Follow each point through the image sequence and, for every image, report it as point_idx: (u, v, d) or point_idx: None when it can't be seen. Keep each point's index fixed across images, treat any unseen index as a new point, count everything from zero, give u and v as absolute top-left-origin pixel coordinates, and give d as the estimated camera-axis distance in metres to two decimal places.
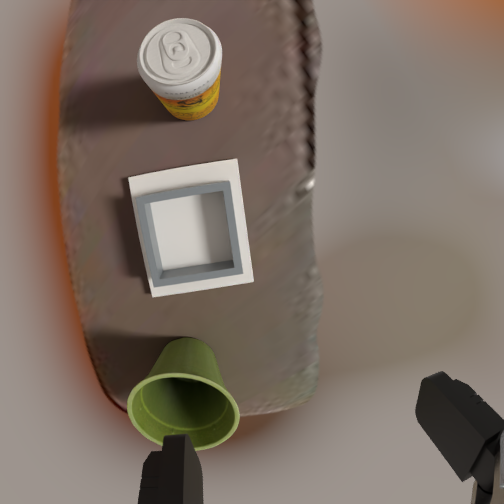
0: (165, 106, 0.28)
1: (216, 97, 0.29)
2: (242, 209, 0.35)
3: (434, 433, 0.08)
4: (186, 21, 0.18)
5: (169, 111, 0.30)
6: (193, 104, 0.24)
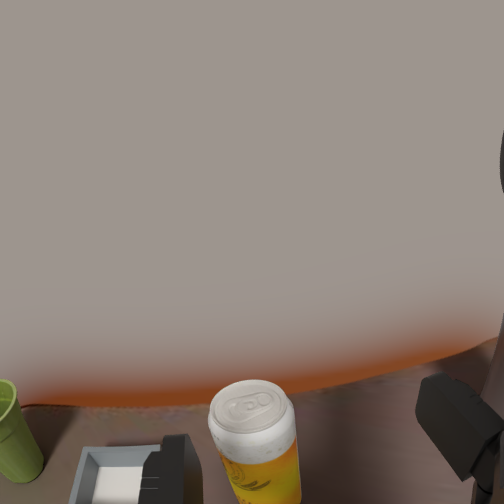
0: None
1: None
2: None
3: (434, 433, 0.08)
4: (284, 406, 0.20)
5: None
6: None
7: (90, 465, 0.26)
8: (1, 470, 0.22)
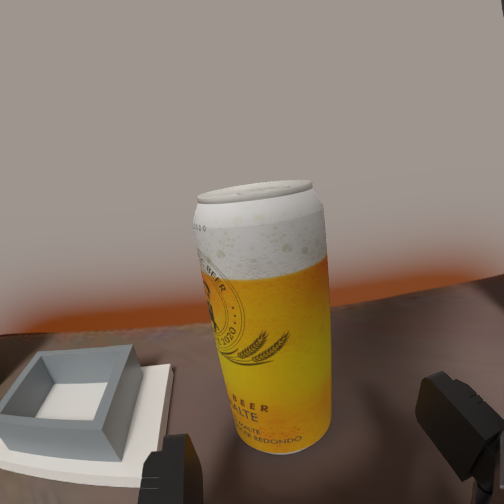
0: None
1: (257, 415, 0.15)
2: (71, 471, 0.14)
3: (434, 433, 0.08)
4: None
5: None
6: None
7: (40, 374, 0.21)
8: None
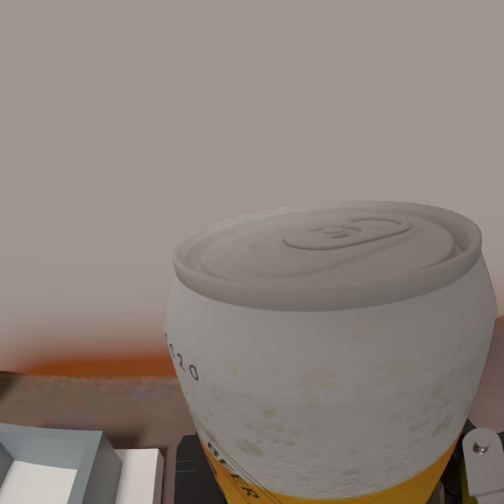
0: None
1: None
2: None
3: None
4: (458, 230, 0.05)
5: None
6: None
7: None
8: None
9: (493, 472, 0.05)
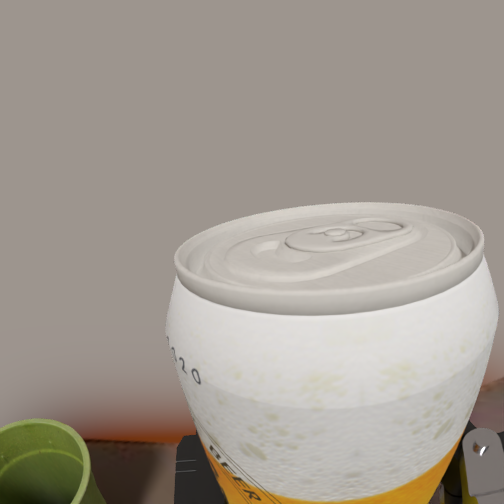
0: None
1: None
2: None
3: None
4: (460, 232, 0.05)
5: None
6: None
7: None
8: None
9: (493, 472, 0.05)
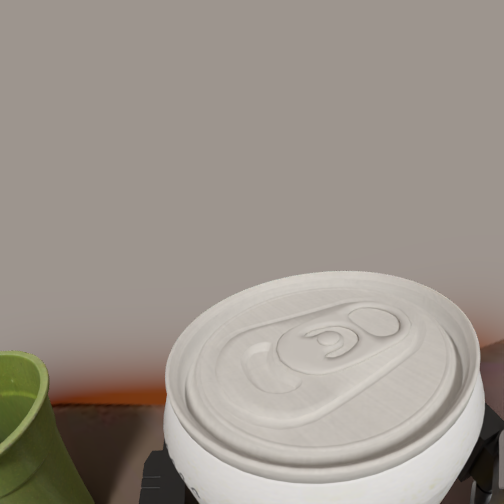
0: None
1: None
2: None
3: None
4: (459, 333, 0.05)
5: None
6: None
7: None
8: None
9: None
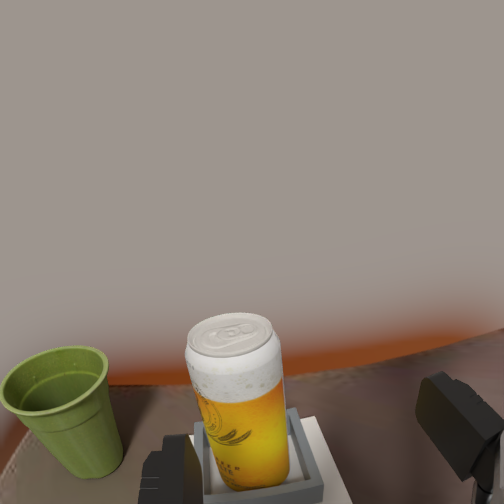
0: None
1: (233, 471, 0.20)
2: None
3: (434, 433, 0.08)
4: (268, 335, 0.19)
5: None
6: None
7: (205, 444, 0.25)
8: (70, 463, 0.21)
9: None
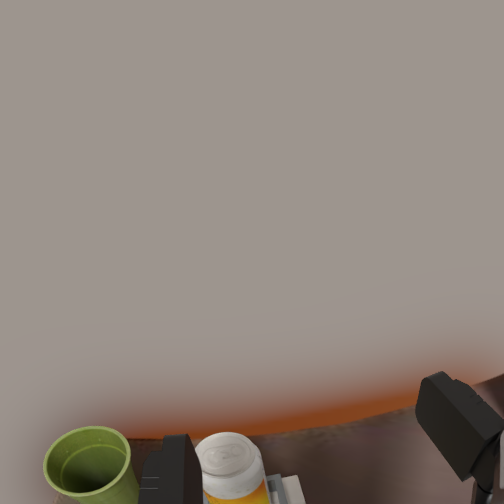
0: None
1: None
2: None
3: (434, 433, 0.08)
4: (252, 458, 0.23)
5: None
6: None
7: None
8: None
9: None
